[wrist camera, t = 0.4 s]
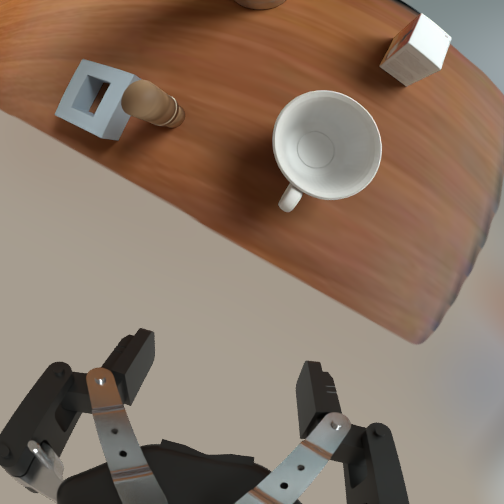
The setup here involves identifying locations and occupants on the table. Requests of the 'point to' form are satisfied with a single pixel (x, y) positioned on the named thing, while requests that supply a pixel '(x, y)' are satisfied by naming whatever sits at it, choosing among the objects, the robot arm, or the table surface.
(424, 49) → the small box
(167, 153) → the table surface
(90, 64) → the hole block
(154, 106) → the walnut peg
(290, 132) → the teacup
